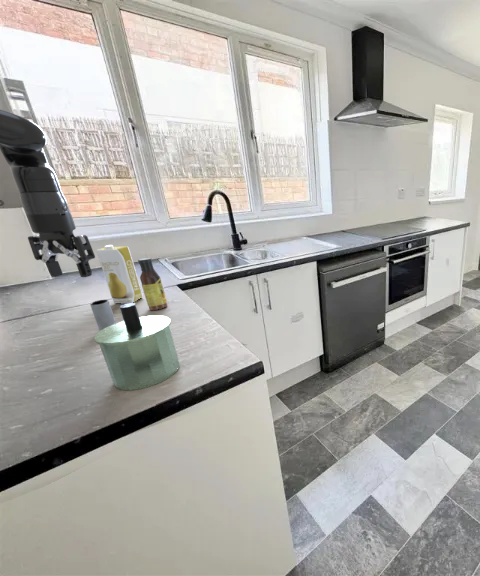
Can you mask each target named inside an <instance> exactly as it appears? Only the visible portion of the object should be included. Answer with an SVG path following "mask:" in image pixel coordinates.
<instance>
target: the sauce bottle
mask: <svg viewBox="0 0 480 576" xmlns="http://www.w3.org/2000/svg"><path fill="white" fill-rule="evenodd" d="M137 262H138V264H139V266H140V270H141V273H140V276H139V279H140V280H139V281H140V282H141V289H142V290H143V291H142V292H143V294H144V297H145V300H146V304H147V307H148V308H149V309H148V310H150V311H158V309H159V310H163V309H165V308H166V306H168V299H167V296H166V292H165V289H164V285H163V282H162V278H161V276H160V275H159V274H158V272H157V271H156V269H155V268H154V265H153V260H152V258H151V257H143V258H139V259H137ZM164 307H165V308H164ZM162 308H163V309H162Z"/></svg>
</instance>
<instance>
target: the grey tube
mask: <svg viewBox="0 0 480 576" xmlns="http://www.w3.org/2000/svg"><path fill="white" fill-rule="evenodd" d="M89 306H90V308H91V311H92V314H93V316H94V319H95V322H96V325H97V328H98V330H99V331H98V332H100V331H101V330H103V329H105V328H107V327H109V326H111V325H113V324H116V323H117V322H116V319H115V316H114V313H113V310H112V307H111V304H110V301H109V299H99V300H95V301H92V302H90V304H89Z"/></svg>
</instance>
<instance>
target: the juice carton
mask: <svg viewBox="0 0 480 576" xmlns="http://www.w3.org/2000/svg"><path fill="white" fill-rule="evenodd" d="M96 254H97V257H98V260H99V264H100V266H101V269H102V272H103V276H104V278H105V281H106V285H107V289H108V291H109V294H110V298H111V300H112V302H113V304H115V303H121V304H128V303H133V302H134V303H136V302H137V301H136V300H138V299H140V298H142V297H143V298H144V295H143V291H142V290H143V289H142V286H141V284H140V280H139V277H138V273H137V270H136V269H137V268H136V266H135V263H134V259H133V256H132V253H131V250H130V248H129V246H128V245H124V246H114V245H113V244H108V245H104V247H101V248H97V249H96ZM143 298H142V299H143ZM140 300H141V299H140ZM135 301H136V302H135ZM138 301H139V300H138Z"/></svg>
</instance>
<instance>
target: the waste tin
mask: <svg viewBox="0 0 480 576" xmlns="http://www.w3.org/2000/svg"><path fill="white" fill-rule="evenodd" d="M98 345H99V348H100V350H101V353H102V355H103V358H104V361H105V364H106V366H107V370H108V372H109V375H110V378H111V380H112V383H113V385H114V387H115V388H116V389H118V390H121V391H136V390H142V389H146V388H149V387H153V386H155V385H157V384H161V383H162V382H164V381H165V380H168V379H169V378H171V377H173V376H174V375H175V374H176V373H177V372H178V370H179V369H180V366H181V364H180V360H179V356H178V352H177V347H176V345H175V341H174V338H173V334H172V330H171V325H170V326H169V327H168V328H167V329H165V330H164V331H162V332H160V333H158V334H156V335H154V336H151V337H149V338H146V339H143V340H139V341H136V342H131V343H126V344H120V345H101V344H98Z"/></svg>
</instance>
